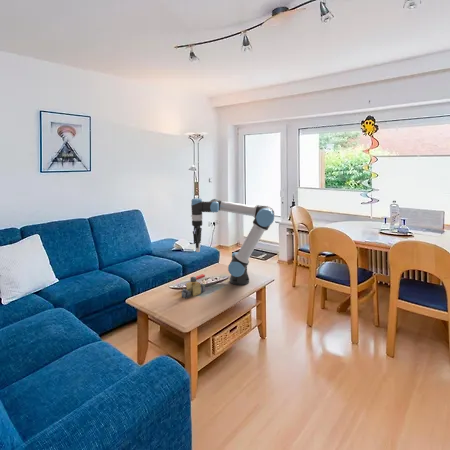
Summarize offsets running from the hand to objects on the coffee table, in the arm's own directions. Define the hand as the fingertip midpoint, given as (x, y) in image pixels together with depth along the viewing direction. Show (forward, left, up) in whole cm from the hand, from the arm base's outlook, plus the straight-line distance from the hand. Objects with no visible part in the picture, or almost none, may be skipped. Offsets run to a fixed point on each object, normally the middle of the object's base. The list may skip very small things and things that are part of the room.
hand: (197, 251), depth 232 cm
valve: (+6, +14, -26) cm, 30 cm away
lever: (+3, +12, -17) cm, 21 cm away
